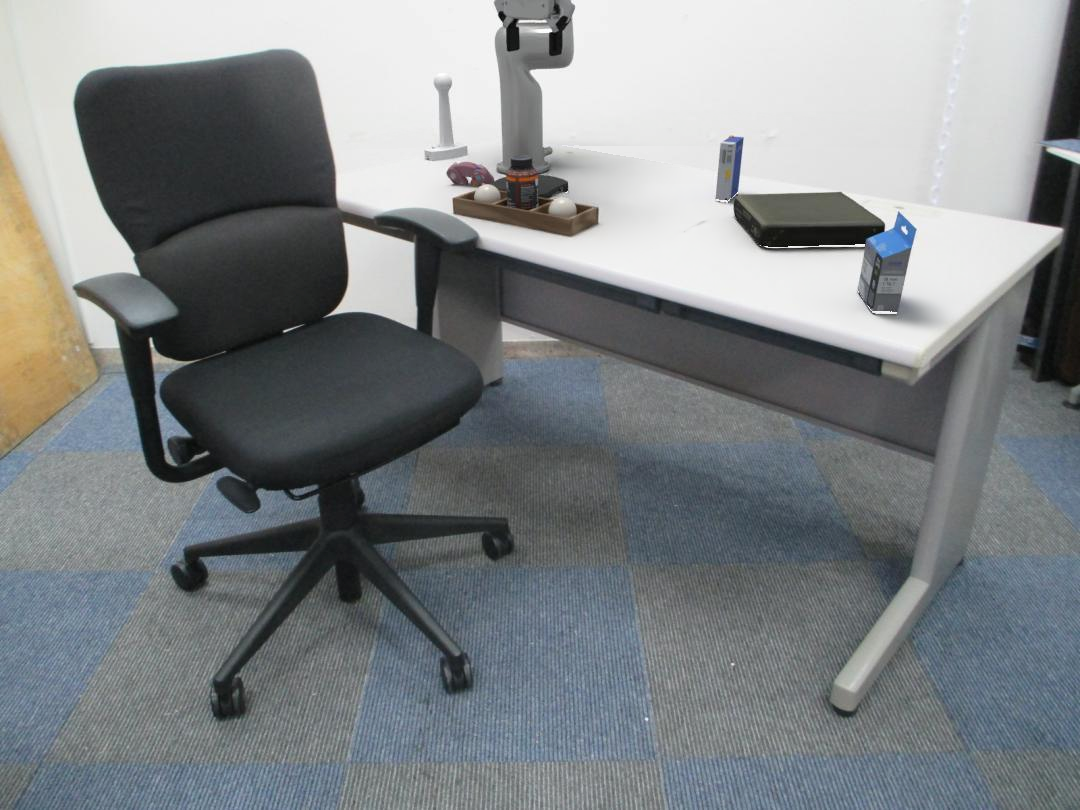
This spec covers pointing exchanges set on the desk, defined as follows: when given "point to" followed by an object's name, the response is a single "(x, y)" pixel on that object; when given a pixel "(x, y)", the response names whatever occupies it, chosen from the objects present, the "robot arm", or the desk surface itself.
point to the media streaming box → (540, 185)
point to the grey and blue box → (886, 266)
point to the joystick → (445, 124)
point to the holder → (527, 214)
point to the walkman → (729, 167)
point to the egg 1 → (487, 194)
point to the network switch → (805, 219)
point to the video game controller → (469, 174)
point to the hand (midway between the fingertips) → (534, 52)
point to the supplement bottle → (522, 183)
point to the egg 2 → (562, 207)
